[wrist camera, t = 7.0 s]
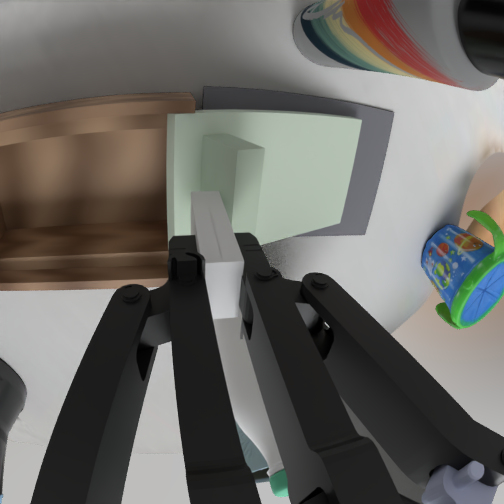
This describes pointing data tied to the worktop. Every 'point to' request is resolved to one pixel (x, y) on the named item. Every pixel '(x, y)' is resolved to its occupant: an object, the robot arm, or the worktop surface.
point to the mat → (373, 119)
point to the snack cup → (466, 271)
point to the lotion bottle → (408, 38)
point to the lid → (261, 168)
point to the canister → (389, 463)
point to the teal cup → (253, 457)
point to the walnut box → (86, 192)
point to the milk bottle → (248, 398)
